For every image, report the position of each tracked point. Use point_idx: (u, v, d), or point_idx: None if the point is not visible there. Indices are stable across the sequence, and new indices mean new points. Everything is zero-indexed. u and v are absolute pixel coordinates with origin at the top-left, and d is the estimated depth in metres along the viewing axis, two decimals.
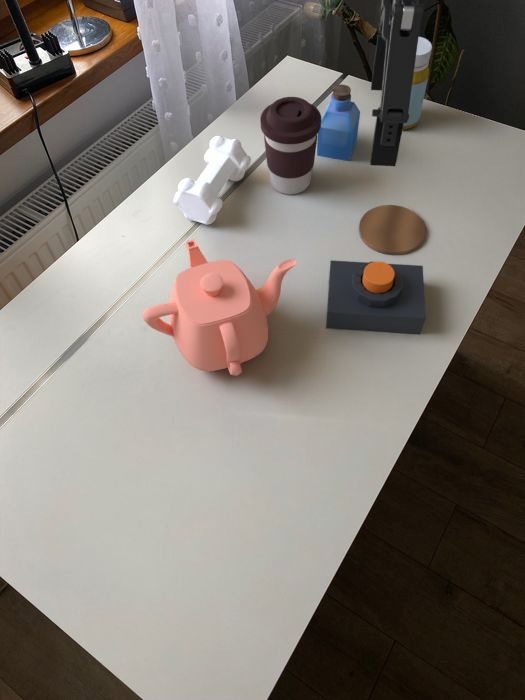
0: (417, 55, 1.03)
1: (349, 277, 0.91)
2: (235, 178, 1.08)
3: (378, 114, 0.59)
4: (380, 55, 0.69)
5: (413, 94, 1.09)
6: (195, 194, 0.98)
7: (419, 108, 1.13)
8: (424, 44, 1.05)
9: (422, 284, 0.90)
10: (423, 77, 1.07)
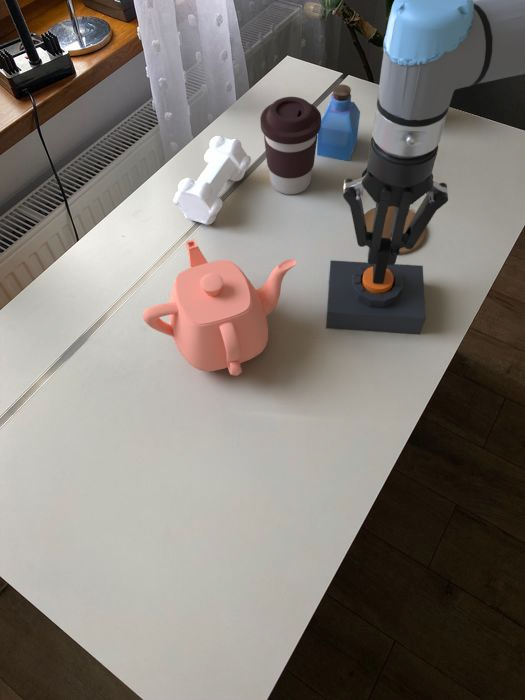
0: None
1: (349, 277, 0.91)
2: (235, 178, 1.08)
3: None
4: None
5: None
6: (195, 194, 0.98)
7: None
8: None
9: (422, 284, 0.90)
10: None
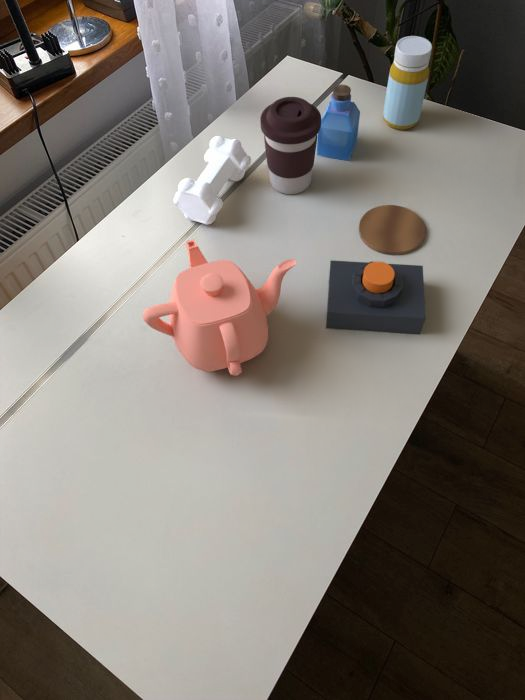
0: (417, 55, 1.03)
1: (349, 277, 0.91)
2: (235, 178, 1.08)
3: None
4: None
5: (413, 94, 1.09)
6: (195, 194, 0.98)
7: (419, 108, 1.13)
8: (424, 44, 1.05)
9: (422, 284, 0.90)
10: (423, 77, 1.07)
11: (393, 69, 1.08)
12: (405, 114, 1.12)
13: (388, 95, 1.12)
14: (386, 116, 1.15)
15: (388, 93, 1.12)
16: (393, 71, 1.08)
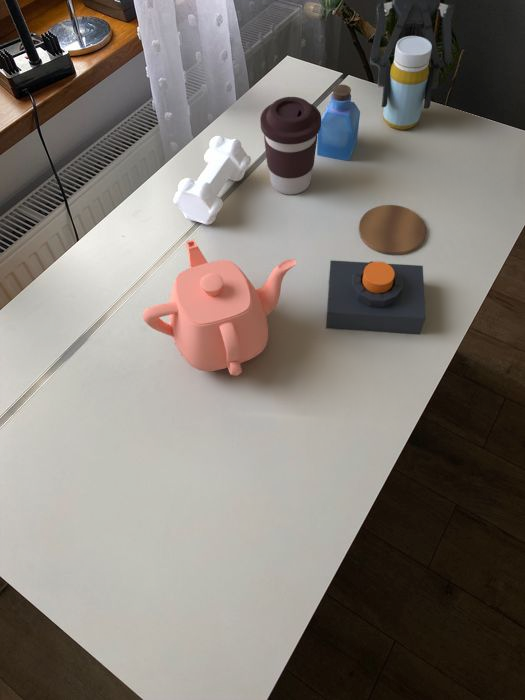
0: (417, 55, 1.03)
1: (349, 277, 0.91)
2: (235, 178, 1.08)
3: None
4: None
5: (413, 94, 1.09)
6: (195, 194, 0.98)
7: (419, 108, 1.13)
8: (424, 44, 1.05)
9: (422, 284, 0.90)
10: (423, 77, 1.07)
11: (393, 69, 1.08)
12: (405, 114, 1.12)
13: (388, 95, 1.12)
14: (386, 116, 1.15)
15: (388, 93, 1.12)
16: (393, 71, 1.08)
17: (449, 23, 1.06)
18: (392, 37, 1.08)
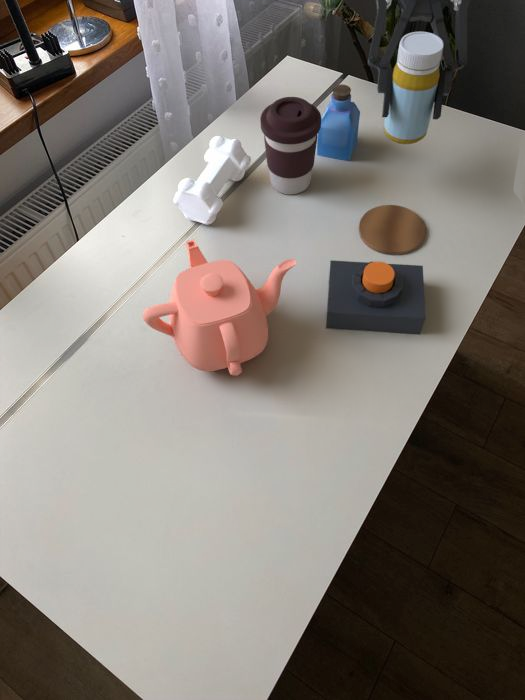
0: (425, 55, 0.84)
1: (349, 277, 0.91)
2: (235, 178, 1.08)
3: None
4: None
5: (420, 102, 0.90)
6: (195, 194, 0.98)
7: (427, 119, 0.94)
8: (434, 41, 0.86)
9: (422, 284, 0.90)
10: (432, 82, 0.88)
11: (396, 72, 0.89)
12: (410, 126, 0.93)
13: (390, 103, 0.93)
14: (387, 128, 0.96)
15: (390, 101, 0.93)
16: (396, 74, 0.89)
17: (465, 16, 0.87)
18: (395, 33, 0.89)
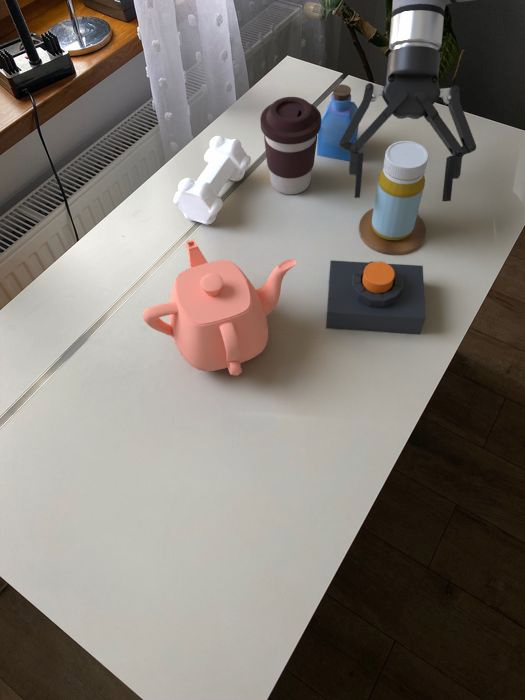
0: (410, 167, 0.87)
1: (349, 277, 0.91)
2: (235, 178, 1.08)
3: None
4: (445, 171, 0.92)
5: (406, 207, 0.92)
6: (195, 194, 0.98)
7: (413, 219, 0.96)
8: (419, 152, 0.89)
9: (422, 284, 0.90)
10: (418, 189, 0.90)
11: (383, 179, 0.91)
12: (397, 226, 0.96)
13: (377, 204, 0.95)
14: (375, 226, 0.99)
15: (377, 202, 0.95)
16: (382, 181, 0.91)
17: (459, 107, 0.89)
18: (373, 124, 0.90)
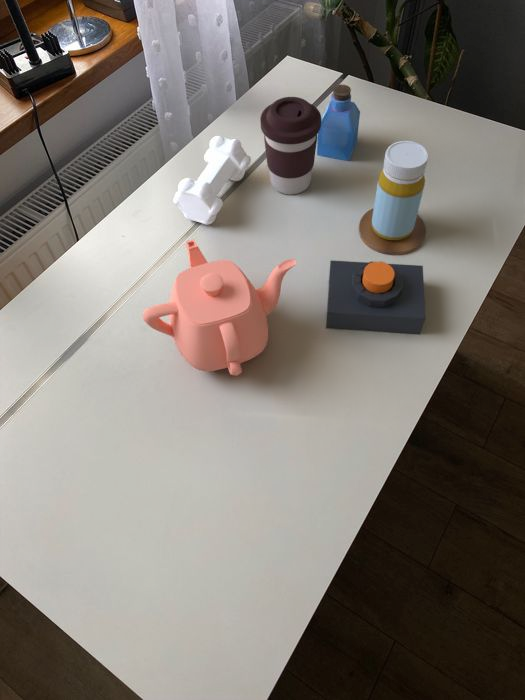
0: (410, 167, 0.87)
1: (349, 277, 0.91)
2: (235, 178, 1.08)
3: None
4: None
5: (406, 207, 0.92)
6: (195, 194, 0.98)
7: (413, 219, 0.96)
8: (419, 152, 0.89)
9: (422, 284, 0.90)
10: (418, 189, 0.90)
11: (383, 179, 0.91)
12: (397, 226, 0.96)
13: (377, 204, 0.95)
14: (375, 226, 0.99)
15: (377, 202, 0.95)
16: (382, 181, 0.91)
17: None
18: None
